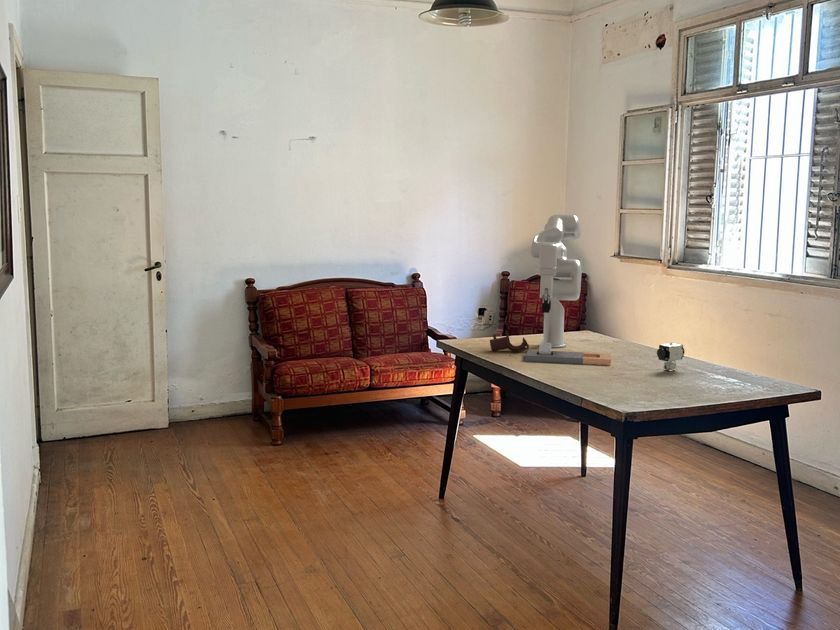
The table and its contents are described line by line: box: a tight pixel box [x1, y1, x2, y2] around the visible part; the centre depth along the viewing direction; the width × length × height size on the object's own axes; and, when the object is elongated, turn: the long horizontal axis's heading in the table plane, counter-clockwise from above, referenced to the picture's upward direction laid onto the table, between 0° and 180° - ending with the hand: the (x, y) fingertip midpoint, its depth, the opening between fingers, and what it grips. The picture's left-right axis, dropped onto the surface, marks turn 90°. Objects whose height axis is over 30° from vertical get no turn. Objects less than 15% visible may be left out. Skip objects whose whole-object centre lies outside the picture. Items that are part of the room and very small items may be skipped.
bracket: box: [489, 329, 530, 353], centre depth 371 cm, size 6×17×10 cm, turn 88°
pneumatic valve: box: [656, 341, 685, 371], centre depth 331 cm, size 6×12×12 cm, turn 122°
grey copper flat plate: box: [524, 349, 612, 366], centre depth 352 cm, size 14×36×2 cm, turn 78°
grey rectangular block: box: [538, 341, 552, 355], centre depth 354 cm, size 5×5×7 cm
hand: (546, 311), depth 351 cm, fingers open, 9 cm apart
